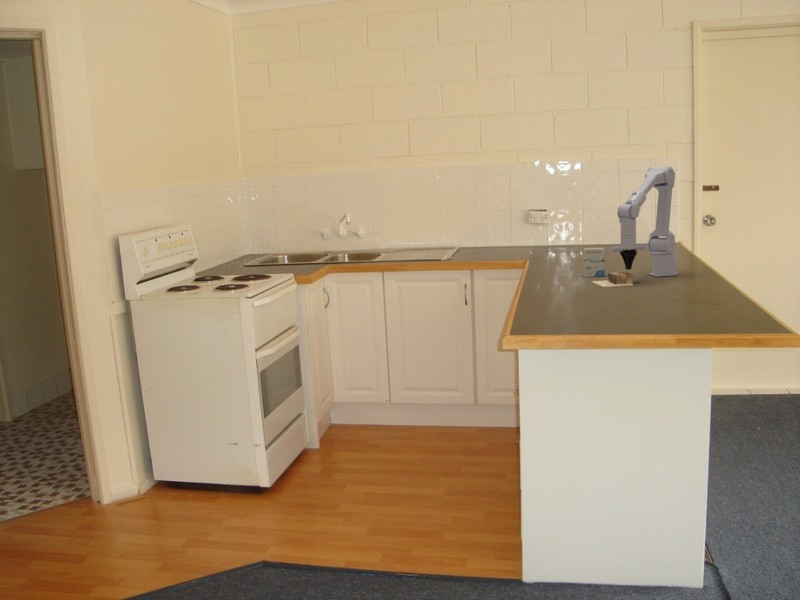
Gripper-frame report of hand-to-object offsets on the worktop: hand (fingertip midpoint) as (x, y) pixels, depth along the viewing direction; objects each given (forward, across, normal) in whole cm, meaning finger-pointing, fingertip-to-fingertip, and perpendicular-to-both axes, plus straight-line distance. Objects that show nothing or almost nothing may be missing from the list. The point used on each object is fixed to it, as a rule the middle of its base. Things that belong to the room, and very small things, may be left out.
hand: (628, 269), depth 302 cm
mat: (+5, +7, -1) cm, 9 cm away
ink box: (+6, +4, -24) cm, 25 cm away
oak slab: (+3, 0, 0) cm, 3 cm away
